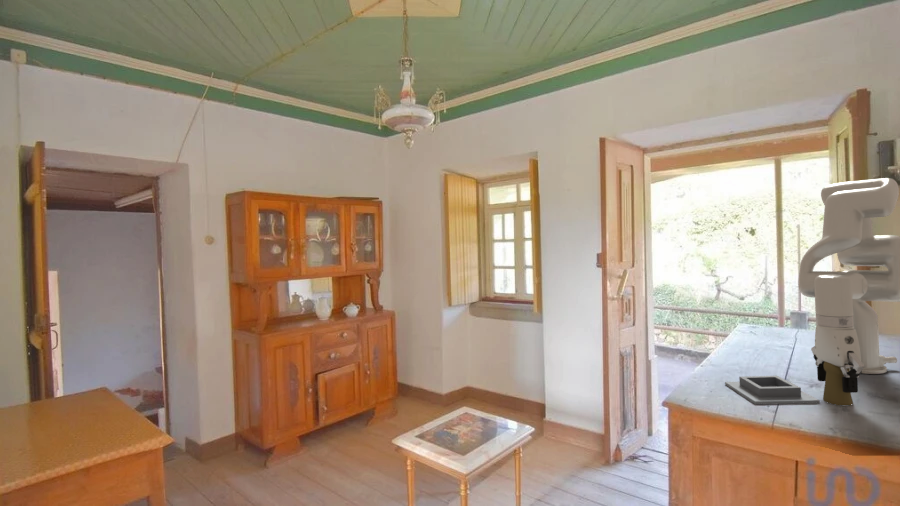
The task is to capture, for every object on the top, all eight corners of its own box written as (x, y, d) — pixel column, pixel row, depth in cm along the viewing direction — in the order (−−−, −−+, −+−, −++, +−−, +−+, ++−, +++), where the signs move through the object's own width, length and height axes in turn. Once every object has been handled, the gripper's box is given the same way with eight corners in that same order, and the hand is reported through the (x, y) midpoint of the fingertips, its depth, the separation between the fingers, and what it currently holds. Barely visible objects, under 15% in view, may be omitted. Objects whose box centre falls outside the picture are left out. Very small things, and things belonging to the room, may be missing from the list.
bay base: (781, 383, 131) (781, 372, 131) (819, 403, 116) (819, 390, 115) (725, 384, 133) (724, 373, 133) (755, 404, 118) (754, 392, 117)
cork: (816, 398, 119) (814, 358, 118) (837, 396, 119) (835, 356, 119) (838, 406, 113) (836, 364, 112) (859, 404, 113) (857, 362, 113)
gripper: (878, 327, 106) (880, 398, 107) (825, 315, 124) (828, 375, 124) (844, 328, 107) (847, 398, 108) (796, 316, 124) (799, 376, 125)
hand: (837, 386), depth 116 cm, fingers open, 8 cm apart
